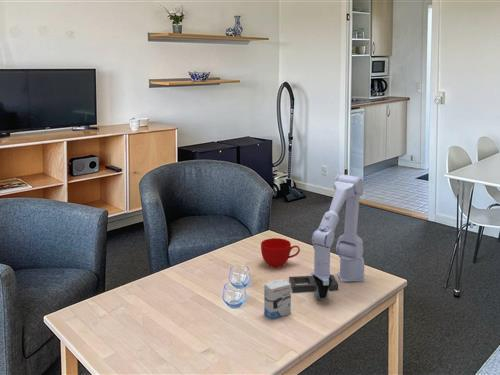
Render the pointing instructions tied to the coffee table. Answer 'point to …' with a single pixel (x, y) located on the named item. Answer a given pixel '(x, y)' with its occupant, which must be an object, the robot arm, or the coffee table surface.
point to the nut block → (316, 293)
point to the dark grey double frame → (309, 283)
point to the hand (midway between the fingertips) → (321, 294)
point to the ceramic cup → (277, 251)
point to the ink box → (277, 298)
